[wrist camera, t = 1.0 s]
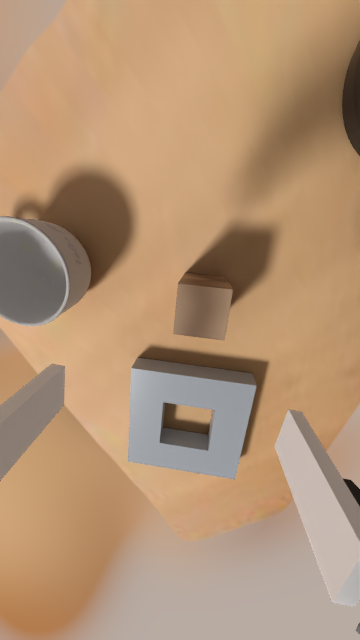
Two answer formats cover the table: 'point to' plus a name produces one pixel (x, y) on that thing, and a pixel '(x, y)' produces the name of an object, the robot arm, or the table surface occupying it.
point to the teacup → (39, 271)
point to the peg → (202, 306)
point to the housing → (196, 391)
